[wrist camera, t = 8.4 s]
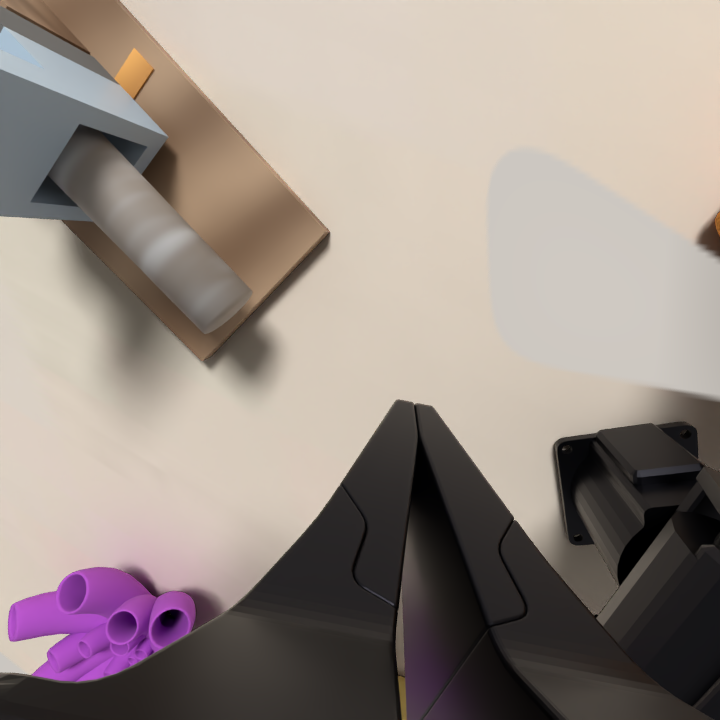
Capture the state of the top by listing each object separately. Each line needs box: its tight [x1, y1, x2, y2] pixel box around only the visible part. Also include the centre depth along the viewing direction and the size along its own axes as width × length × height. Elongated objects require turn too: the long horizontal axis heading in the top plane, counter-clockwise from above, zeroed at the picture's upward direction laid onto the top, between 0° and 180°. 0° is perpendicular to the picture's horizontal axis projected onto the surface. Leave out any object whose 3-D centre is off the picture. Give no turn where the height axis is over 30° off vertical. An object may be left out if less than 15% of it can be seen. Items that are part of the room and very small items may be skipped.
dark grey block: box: [0, 6, 119, 85], centre depth 17 cm, size 2×5×5 cm, turn 134°
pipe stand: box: [0, 0, 330, 361], centre depth 18 cm, size 17×10×6 cm, turn 44°
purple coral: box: [8, 567, 195, 682], centre depth 26 cm, size 11×15×10 cm
